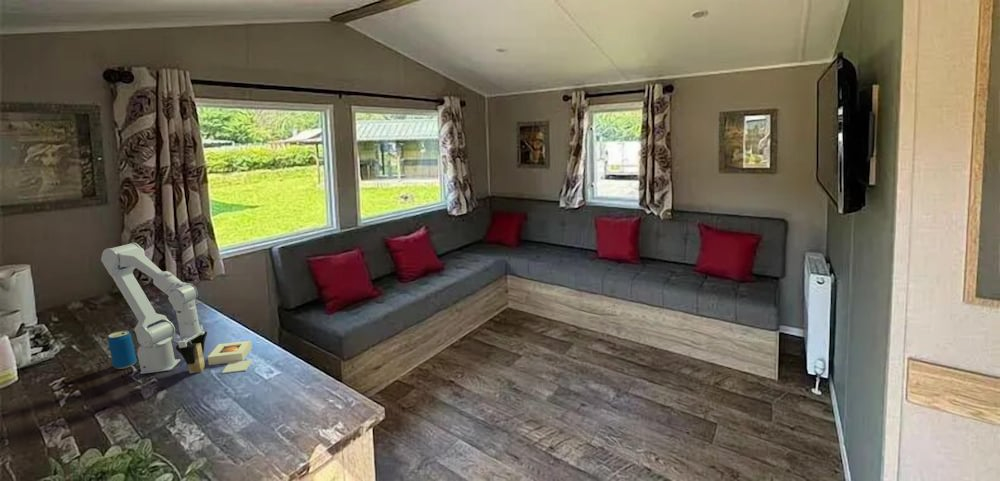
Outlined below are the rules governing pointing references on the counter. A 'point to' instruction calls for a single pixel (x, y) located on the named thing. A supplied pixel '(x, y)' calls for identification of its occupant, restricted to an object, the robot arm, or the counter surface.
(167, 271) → the robot arm
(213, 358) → the cream square frame
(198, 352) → the wood grain block
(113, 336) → the beverage can
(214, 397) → the counter surface
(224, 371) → the rubber mat
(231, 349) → the button
